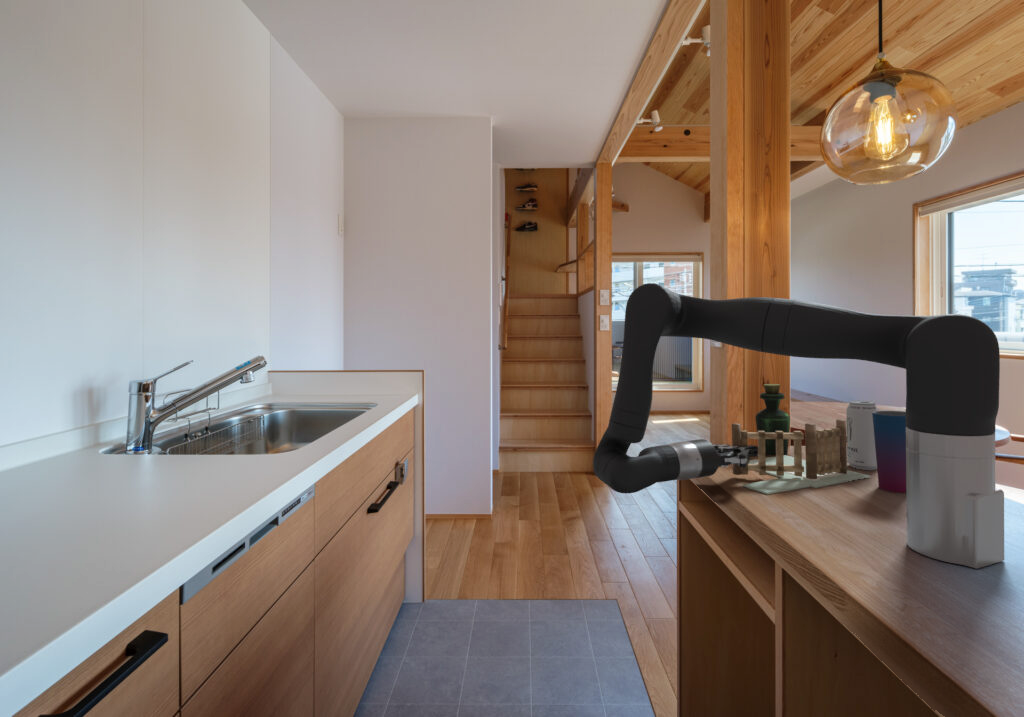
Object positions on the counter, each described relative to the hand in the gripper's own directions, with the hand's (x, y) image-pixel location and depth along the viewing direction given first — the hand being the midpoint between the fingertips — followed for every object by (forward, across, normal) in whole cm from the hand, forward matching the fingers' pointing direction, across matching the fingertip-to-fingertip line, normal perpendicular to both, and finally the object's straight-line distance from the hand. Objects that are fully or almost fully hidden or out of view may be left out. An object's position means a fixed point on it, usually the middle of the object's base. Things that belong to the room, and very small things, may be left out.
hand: (755, 450), depth 104 cm
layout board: (+8, +2, +6) cm, 10 cm away
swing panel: (+3, 0, +6) cm, 6 cm away
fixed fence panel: (+14, -5, +7) cm, 16 cm away
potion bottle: (+22, +16, +7) cm, 28 cm away
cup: (+19, -16, +7) cm, 25 cm away
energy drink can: (+28, -2, +7) cm, 29 cm away
